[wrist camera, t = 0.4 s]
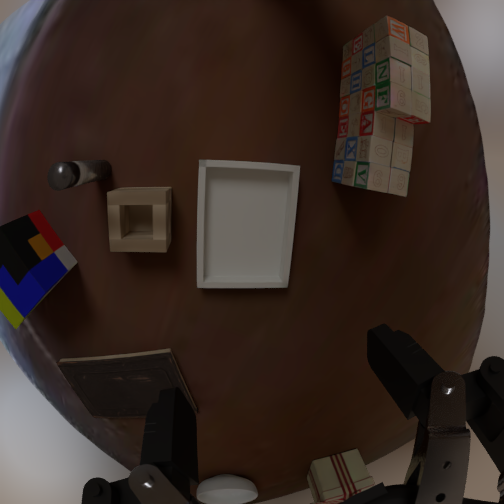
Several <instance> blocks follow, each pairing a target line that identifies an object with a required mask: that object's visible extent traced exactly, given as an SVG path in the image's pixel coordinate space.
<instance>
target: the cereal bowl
mask: <svg viewBox="0 0 504 504" xmlns="http://www.w3.org/2000/svg"><path fill="white" fill-rule="evenodd" d="M257 496H258V493H257V489H256V486H255V485H254V483H253V482H251V481H250V480H248V479H246V478H243V477H238V476H236V475H231V474H223V475H217V476H215V477H213V478H209V479H207V480H204V481H203V482H202V483H201V484H200V485H199V486H198V488H197V499H198V500H199V501H201V502H204V503H207V504H242V503H246V502H249V501H252V500H254V499H255V498H257Z"/></svg>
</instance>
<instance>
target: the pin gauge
mask: <svg viewBox="0 0 504 504" xmlns="http://www.w3.org/2000/svg"><path fill="white" fill-rule="evenodd" d="M110 173H111V165H110V163H109V162H108V161H106V160H89V161H71V162H58V163H55V164H53V165H52V166H51V168H50V169H49V172H48V183H49V185H50V187H51V188H52V189H54V190H57V191H58V190H63V189H66V188H70V187H74V186H78V185H82V184H86V183H90V182H95V181H99V180H103V179H106V178H108V177H109V175H110Z"/></svg>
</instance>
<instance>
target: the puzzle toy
mask: <svg viewBox="0 0 504 504" xmlns="http://www.w3.org/2000/svg"><path fill="white" fill-rule="evenodd" d="M77 263H78V262H77V261H76V259H75V258H74V257H73V256H72V254H71V253H70V252H69V251H68V249H67V248H66V247H65V245H64V244H63V243H62V241H61V240H60V239H59V237H58V236H57V234H56V233H55V232H54V230H53V229H52V228H51V226H50V225H49V223H48V222H47V220H46V219H45V217H44V216H43V214H42V213H41V211H40V210H38V211H35V212H33V213H30V214H28V215H26V216H23V217H21V218H18V219H16V220H14V221H11V222H9V223H7V224H5V225H2V226H0V310H1V312H2V313H3V314H4V315H5V317H6V318H7V319H8V320H9V322H10V323H11V324H12V325H13V326H14V328H15V329H17V327H18V326H19V325H20V324H21V323H22V322H23V321H24V319H25V318H26V317H27V316H28V315H29V314H30V313H31V312H32V311H33V310H34V308H35V307H36V306H37V305H38V304H39V303H40V302H41V301H42V300H43V299H44V298H45V297H46V296H47V295H48V293H49V292H50V291H51V290H52V289H53V288H54V287H55V286H56V285H57V284H58V282H59V281H60V280H61V279H62V278H63V277H64V276H65V275H66V274H67V273H68V272H69V271H70V270H71V269H72V268H73V267H74V266H75V265H76V264H77Z"/></svg>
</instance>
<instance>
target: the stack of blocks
mask: <svg viewBox="0 0 504 504" xmlns="http://www.w3.org/2000/svg"><path fill="white" fill-rule="evenodd" d="M428 55H429V50H428V40H427V37H426V36H425V35H423V34H421V33H420V32H418V31H416V30H414V29H413V28H411V27H408V26H407V25H405V24H403V23H401V22H399V21H397V20H395V19H393V18H391V17H389V16H386V17H384V18H383V19H381V20H380V21H378V22H377V23H375V24H373V25H372V26H371V27H369V28H368V29H366V30H364V31H363V33H361V34H359V35H358V36H357V37H355V38H354V39H353V40H351V41H349V42H348V43H347V44H345V45H344V46H343V62H342V73H341V86H340V110H339V125H338V135H337V140H336V148H335V156H334V166H333V174H332V182H336V183H340V184H344V185H349V186H353V187H359V188H363V189H369V190H374V191H379V192H384V193H390V194H395V195H400V196H404V197H406V196H407V189H408V182H409V172H410V168H411V159H412V147H413V135H414V127H413V124H425V123H430V115H431V100H430V78H429V77H430V70H429V57H428Z"/></svg>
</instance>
